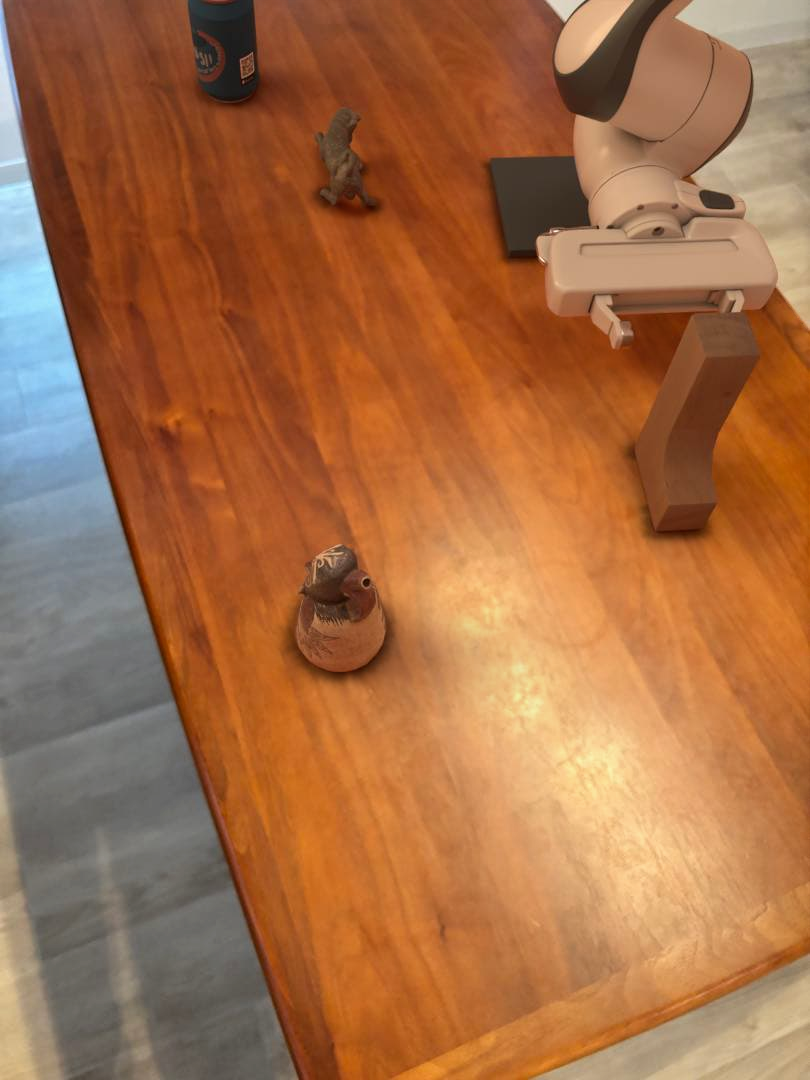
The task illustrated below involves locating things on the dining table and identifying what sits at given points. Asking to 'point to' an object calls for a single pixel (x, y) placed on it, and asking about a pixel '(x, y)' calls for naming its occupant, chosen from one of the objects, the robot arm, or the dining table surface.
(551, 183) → the mat
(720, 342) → the wooden block
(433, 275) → the dining table surface
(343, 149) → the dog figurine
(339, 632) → the figurine
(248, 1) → the soda can
